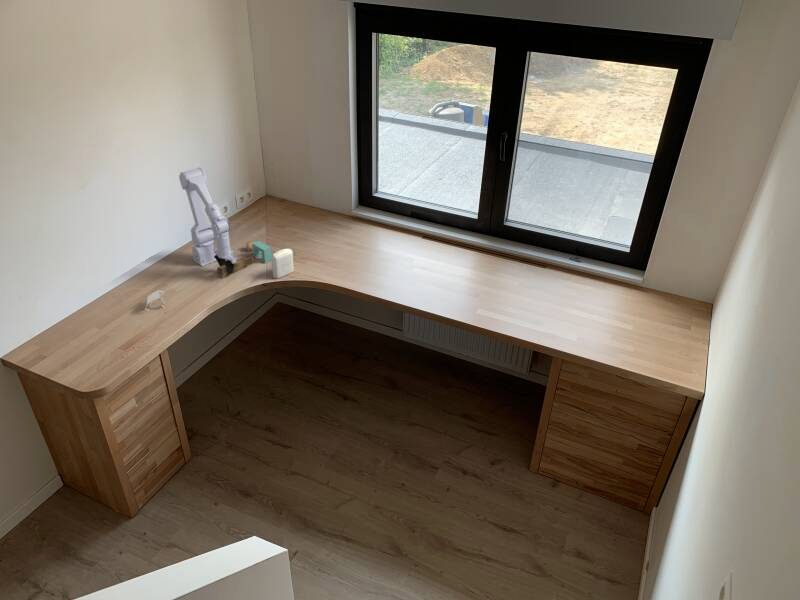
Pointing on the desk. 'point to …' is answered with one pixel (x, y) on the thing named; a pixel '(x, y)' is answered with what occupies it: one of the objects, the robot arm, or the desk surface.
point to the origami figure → (154, 298)
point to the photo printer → (282, 263)
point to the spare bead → (249, 246)
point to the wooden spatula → (235, 266)
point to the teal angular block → (262, 251)
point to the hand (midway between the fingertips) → (226, 271)
